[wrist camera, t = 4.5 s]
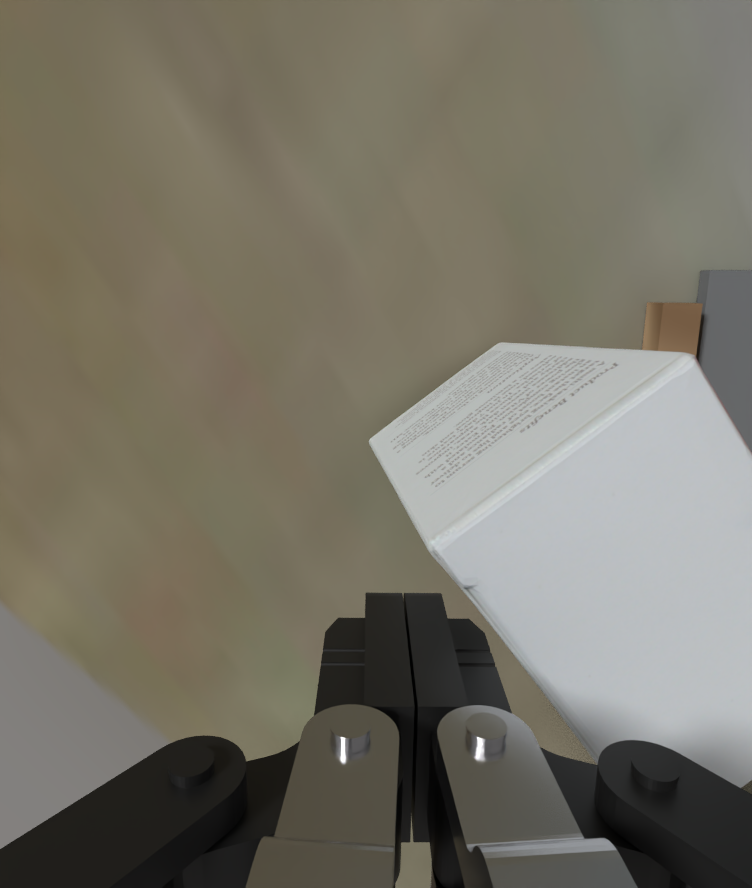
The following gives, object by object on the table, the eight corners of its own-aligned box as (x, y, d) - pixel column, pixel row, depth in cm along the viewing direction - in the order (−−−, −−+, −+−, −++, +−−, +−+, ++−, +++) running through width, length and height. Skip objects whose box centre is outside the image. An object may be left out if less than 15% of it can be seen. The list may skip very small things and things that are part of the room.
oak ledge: (646, 302, 20) (663, 303, 19) (684, 302, 20) (702, 303, 19) (611, 635, 23) (623, 653, 22) (644, 635, 23) (658, 653, 22)
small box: (622, 520, 22) (903, 688, 12) (495, 614, 22) (664, 862, 12) (499, 334, 20) (704, 342, 10) (361, 437, 20) (425, 548, 10)
